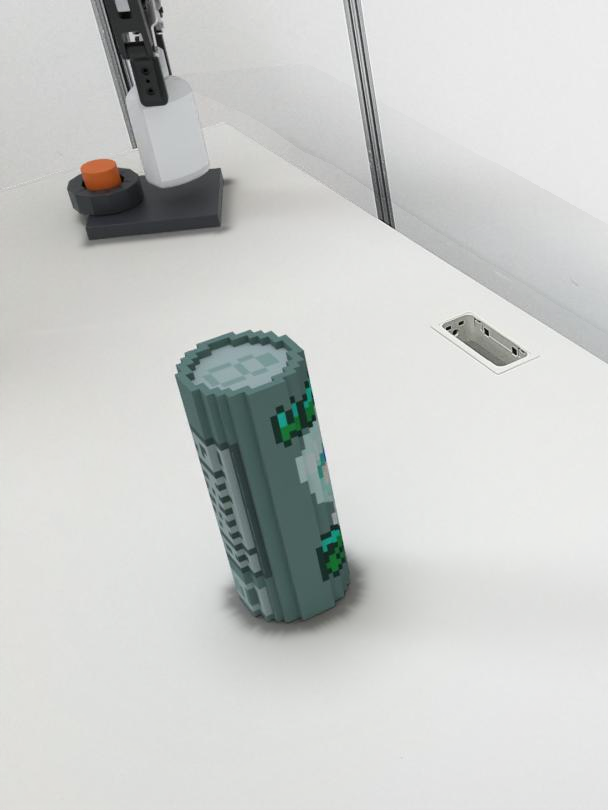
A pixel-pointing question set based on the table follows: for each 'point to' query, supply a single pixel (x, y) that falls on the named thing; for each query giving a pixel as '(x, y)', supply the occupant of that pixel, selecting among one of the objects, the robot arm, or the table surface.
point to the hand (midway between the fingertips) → (157, 92)
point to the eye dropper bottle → (169, 133)
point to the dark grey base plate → (148, 205)
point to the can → (266, 471)
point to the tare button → (100, 174)
